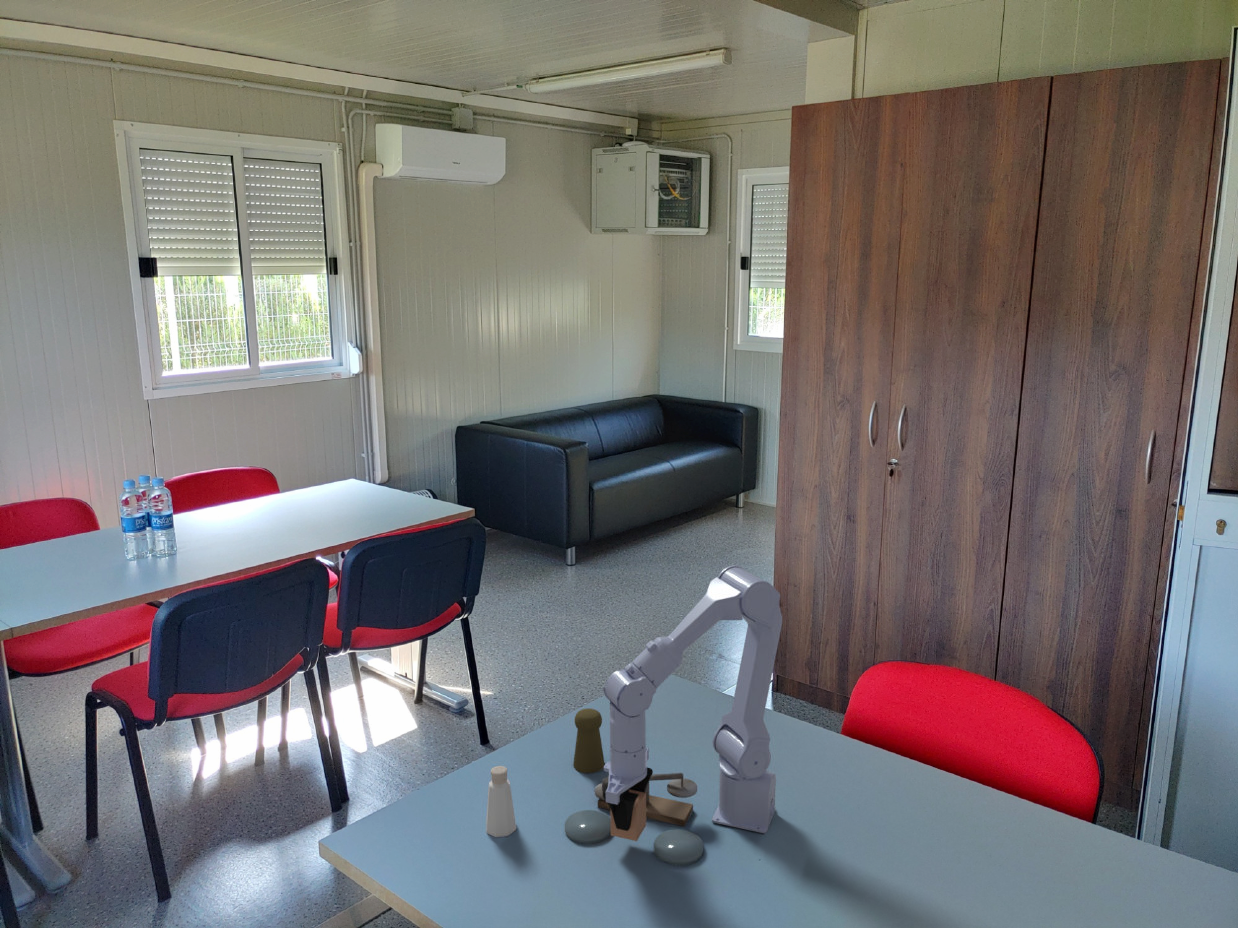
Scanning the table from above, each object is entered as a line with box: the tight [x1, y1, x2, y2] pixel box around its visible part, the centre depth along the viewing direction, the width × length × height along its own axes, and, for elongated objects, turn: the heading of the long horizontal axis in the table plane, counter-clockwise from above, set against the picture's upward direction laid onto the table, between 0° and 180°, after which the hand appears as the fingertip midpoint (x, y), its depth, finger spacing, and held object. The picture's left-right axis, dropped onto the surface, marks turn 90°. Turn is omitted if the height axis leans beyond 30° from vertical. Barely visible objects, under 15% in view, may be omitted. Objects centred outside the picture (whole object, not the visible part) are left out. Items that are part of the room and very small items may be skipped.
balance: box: [594, 772, 698, 827], centre depth 162 cm, size 19×5×8 cm, turn 69°
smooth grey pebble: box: [653, 829, 704, 866], centre depth 151 cm, size 8×8×1 cm
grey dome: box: [564, 809, 611, 844], centre depth 157 cm, size 8×8×1 cm
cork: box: [572, 707, 606, 774], centre depth 176 cm, size 6×6×11 cm
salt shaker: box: [485, 765, 517, 838], centre depth 156 cm, size 5×5×11 cm
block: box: [609, 789, 647, 842], centre depth 151 cm, size 4×4×6 cm
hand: (628, 819), depth 151 cm, fingers closed on block, 4 cm apart
